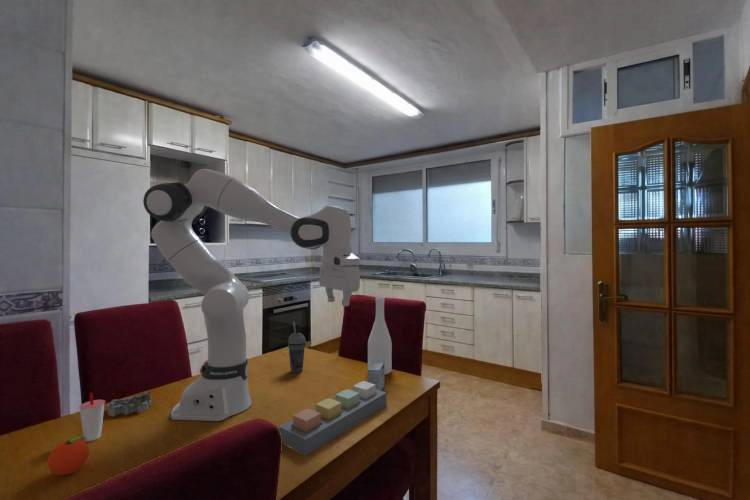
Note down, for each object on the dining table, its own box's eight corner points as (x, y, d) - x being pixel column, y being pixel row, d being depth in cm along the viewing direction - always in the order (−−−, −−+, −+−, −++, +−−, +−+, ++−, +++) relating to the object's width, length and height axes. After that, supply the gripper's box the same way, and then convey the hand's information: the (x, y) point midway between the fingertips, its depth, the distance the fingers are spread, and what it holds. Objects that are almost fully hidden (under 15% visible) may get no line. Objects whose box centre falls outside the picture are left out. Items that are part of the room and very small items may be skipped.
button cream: (365, 401, 107) (365, 389, 107) (353, 396, 110) (353, 385, 110) (375, 395, 111) (375, 384, 111) (363, 391, 114) (363, 380, 114)
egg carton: (153, 403, 113) (153, 390, 113) (145, 414, 106) (145, 400, 106) (115, 407, 110) (115, 393, 110) (103, 418, 103) (103, 404, 103)
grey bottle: (364, 369, 144) (364, 296, 144) (385, 366, 147) (386, 295, 147) (373, 377, 135) (373, 299, 135) (395, 374, 139) (395, 298, 138)
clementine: (74, 458, 83) (73, 429, 83) (101, 460, 82) (101, 430, 82) (38, 481, 75) (38, 448, 75) (68, 483, 74) (68, 450, 74)
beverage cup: (303, 374, 138) (303, 323, 138) (285, 374, 138) (285, 323, 138) (307, 368, 145) (307, 319, 145) (290, 367, 145) (290, 319, 145)
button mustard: (328, 422, 94) (328, 409, 94) (315, 416, 97) (315, 404, 97) (341, 415, 98) (341, 402, 98) (328, 409, 101) (328, 397, 101)
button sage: (348, 411, 101) (348, 398, 101) (335, 406, 104) (335, 394, 104) (359, 404, 105) (359, 393, 105) (346, 400, 108) (346, 388, 108)
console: (305, 456, 85) (305, 439, 84) (278, 441, 91) (278, 426, 90) (386, 405, 112) (386, 392, 112) (362, 396, 118) (362, 384, 118)
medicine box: (380, 396, 119) (380, 370, 118) (367, 394, 119) (367, 369, 119) (384, 386, 126) (384, 362, 126) (372, 385, 127) (372, 361, 127)
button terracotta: (306, 435, 88) (306, 421, 88) (292, 428, 91) (292, 415, 91) (320, 426, 92) (320, 413, 92) (307, 421, 95) (307, 408, 95)
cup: (75, 445, 88) (75, 398, 88) (83, 435, 93) (83, 390, 93) (101, 440, 91) (101, 394, 90) (108, 430, 96) (107, 386, 95)
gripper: (314, 258, 115) (314, 300, 115) (344, 260, 98) (345, 309, 98) (331, 257, 119) (332, 298, 119) (363, 259, 102) (364, 307, 102)
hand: (338, 303), depth 108 cm, fingers open, 8 cm apart
